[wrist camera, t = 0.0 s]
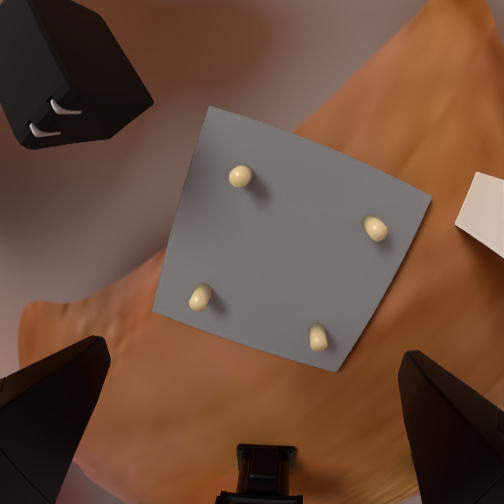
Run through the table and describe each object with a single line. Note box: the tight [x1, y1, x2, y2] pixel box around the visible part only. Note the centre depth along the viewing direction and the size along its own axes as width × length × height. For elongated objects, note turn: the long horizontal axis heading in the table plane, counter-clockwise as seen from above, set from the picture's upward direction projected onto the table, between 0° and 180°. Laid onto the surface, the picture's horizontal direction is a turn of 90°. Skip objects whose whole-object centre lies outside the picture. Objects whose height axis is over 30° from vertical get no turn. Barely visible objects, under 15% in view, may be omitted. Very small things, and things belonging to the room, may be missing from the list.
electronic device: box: [0, 0, 154, 150], centre depth 15 cm, size 4×10×10 cm, turn 31°
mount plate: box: [152, 106, 432, 372], centre depth 22 cm, size 16×16×3 cm
